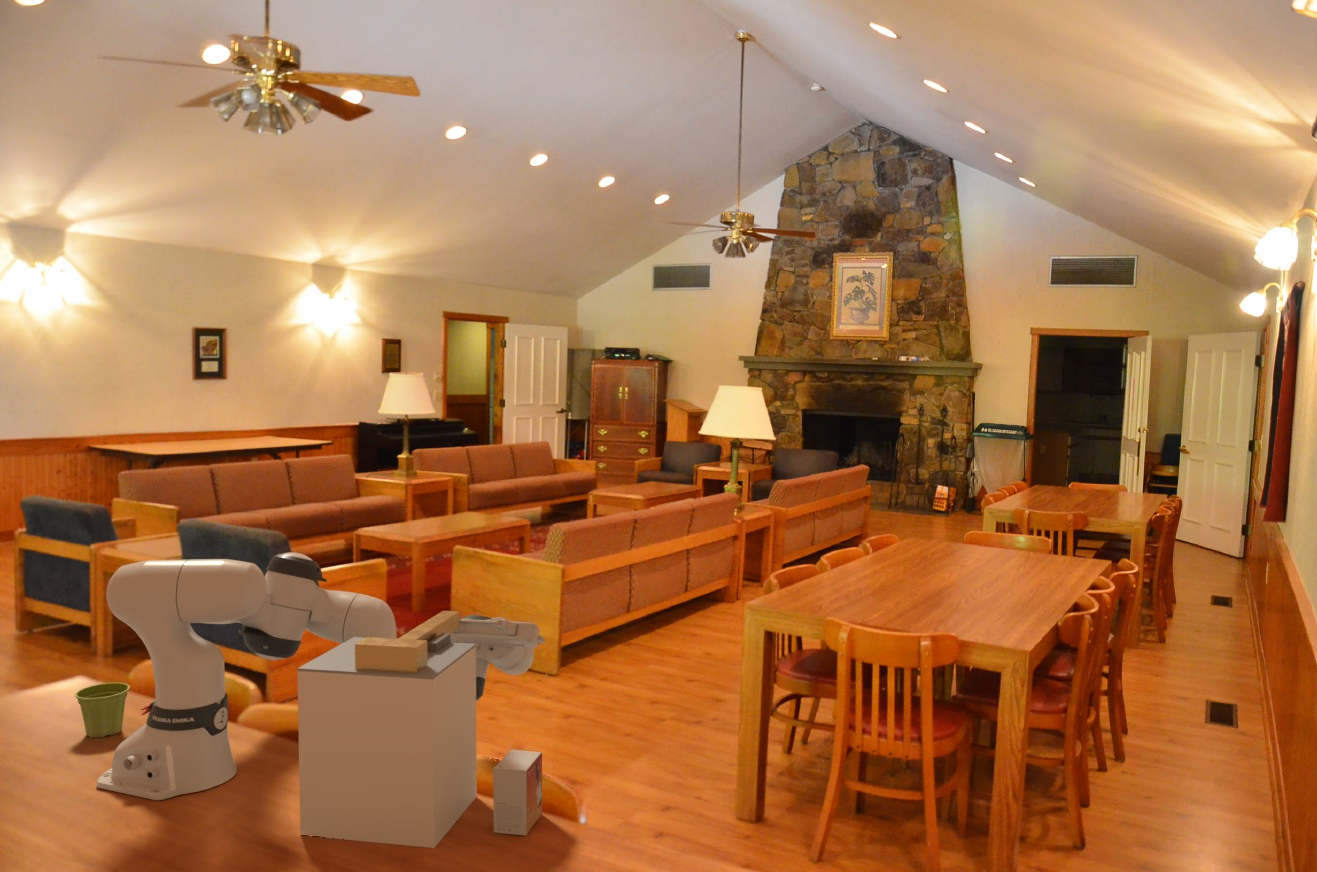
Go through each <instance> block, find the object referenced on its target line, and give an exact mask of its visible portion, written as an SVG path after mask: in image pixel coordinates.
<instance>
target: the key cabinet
mask: <svg viewBox="0 0 1317 872" xmlns="http://www.w3.org/2000/svg"><path fill="white" fill-rule="evenodd" d="M363 639H365V638H363V637H353V638H351V639H350V640H348V641H346V642H344V643H340V644H338V645H337V646H335V647H333V648H332V649H330V650H328V651H326V652H324V653H323V654H321V655H319V656H317V657H315V658H314V659H312V660H310V661H308V662H306V663H304V664H303V665H301V666H299V667H298V668H297V669H296V670H297V716H298V717H297V718H298V720H297V722H298V723H297V724H298V725H297V726H298V766H299V767H298V769H299V770H298V772H299V773H298V774H299V779H298V781H299V783H298V784H299V824H300V825H299V827H300V828H299V831H300V834H299V835H300V836H301V835H312V836H321V837H320V838H322V837H325V839H333V838H334V839H335V840H343V839H344V840H345V841H357V842H363V843H375V844H376V843H377V844H388V845H399V846H407V847H420V848H421V847H422V848H428V849H429V848H430V849H435V848H436V847H437V846H438V845H439V843H440V842H441V841H442V840H443V838H444V837H445V836H446V835H447V833H449V831H450V830H451V829H452V828H453V826H454V825H455V824H456V823H457V821H458V820H459V819H460V818H461V816H463V814H464V813H465V811H466V810H467V809H468V808H469V807H470V805H471V804H472V803H473V802H474V801H475V799H476V798H478V796H477V793H478V790H477V789H478V787H477V785H478V784H477V782H478V781H477V779H478V778H477V773H478V772H477V770H478V769H477V767H478V766H477V758H478V757H477V701H476V644H470V643H452V642H450V634H447V633H442V634H440V635H439V636H437V637H436V638H434V639H433V640H431V641H430V642H428V650H427V653H428V666H427V667H425V668H424V669H423V670H421V671H420V672H419V673H417V674H413V673H397V672H381V671H365V670H355V644H356V643H358V642H359V641H361V640H363ZM312 836H311V837H312Z"/></svg>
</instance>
